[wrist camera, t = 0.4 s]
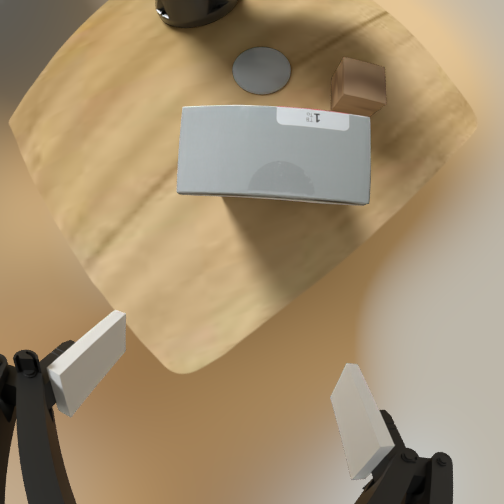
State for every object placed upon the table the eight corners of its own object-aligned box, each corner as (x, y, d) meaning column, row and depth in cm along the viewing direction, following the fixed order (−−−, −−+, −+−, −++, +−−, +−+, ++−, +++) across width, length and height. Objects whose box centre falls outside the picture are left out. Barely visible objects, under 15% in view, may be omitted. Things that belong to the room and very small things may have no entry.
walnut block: (331, 78, 35) (343, 56, 28) (366, 86, 35) (384, 67, 27) (330, 111, 37) (343, 93, 29) (366, 118, 36) (386, 104, 29)
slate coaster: (236, 48, 35) (235, 46, 35) (291, 51, 35) (292, 49, 34) (230, 93, 37) (229, 91, 36) (288, 97, 37) (289, 95, 36)
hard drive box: (325, 153, 38) (375, 117, 18) (323, 203, 40) (373, 210, 20) (221, 146, 39) (181, 105, 19) (218, 197, 40) (174, 197, 21)
